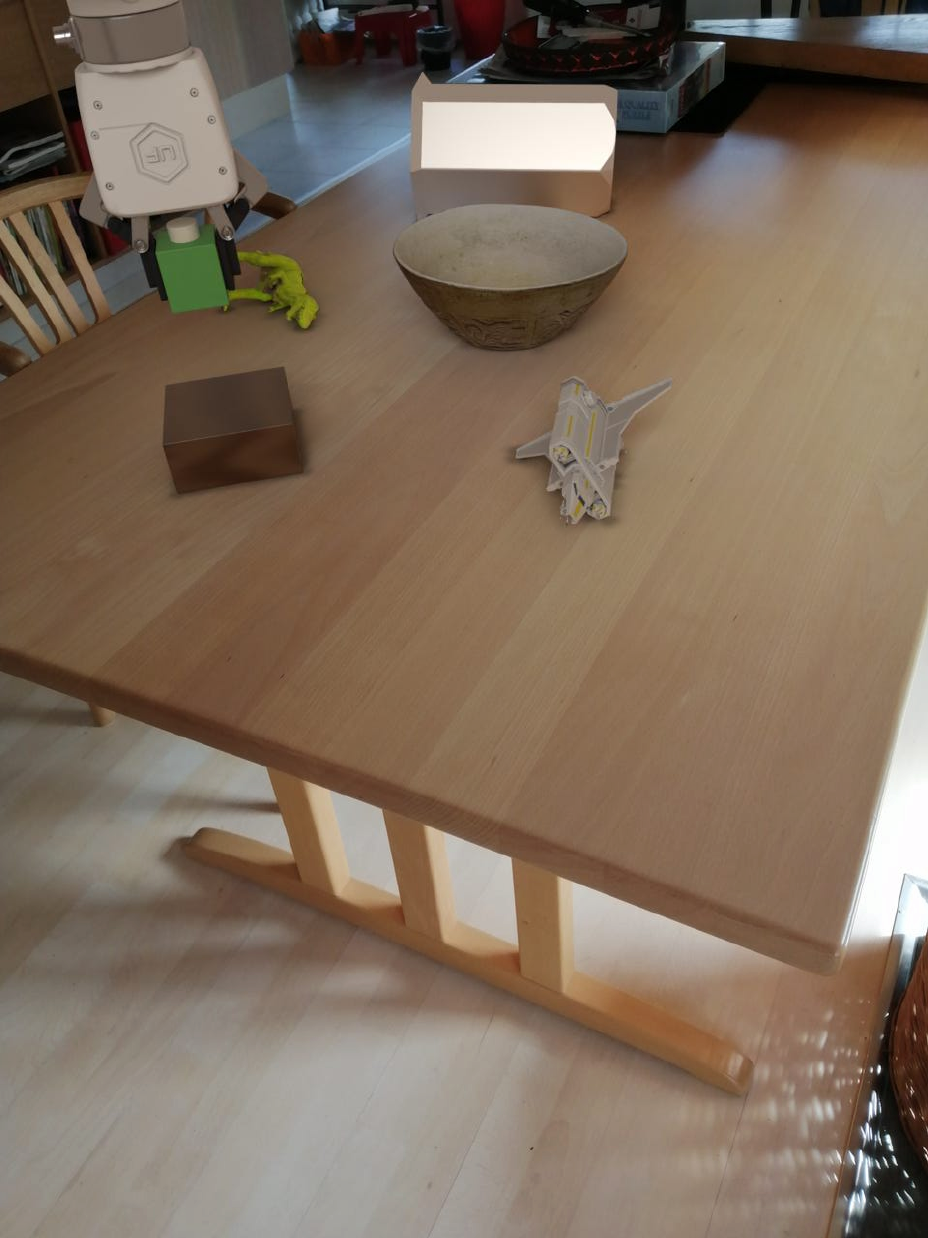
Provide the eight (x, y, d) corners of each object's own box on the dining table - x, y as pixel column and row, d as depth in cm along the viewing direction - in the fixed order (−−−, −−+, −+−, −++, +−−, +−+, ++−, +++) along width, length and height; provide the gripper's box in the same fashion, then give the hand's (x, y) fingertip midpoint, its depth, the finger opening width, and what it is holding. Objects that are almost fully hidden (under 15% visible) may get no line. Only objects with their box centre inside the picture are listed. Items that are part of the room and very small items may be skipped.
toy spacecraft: (541, 479, 91) (694, 411, 84) (518, 587, 80) (691, 520, 73) (494, 410, 87) (650, 333, 80) (462, 514, 76) (640, 436, 69)
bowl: (639, 288, 113) (643, 196, 106) (606, 389, 96) (608, 288, 89) (439, 280, 119) (431, 193, 112) (374, 375, 102) (361, 278, 95)
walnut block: (177, 494, 87) (162, 444, 84) (179, 432, 96) (165, 384, 92) (302, 472, 88) (292, 423, 85) (293, 413, 97) (284, 365, 93)
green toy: (172, 313, 80) (150, 236, 76) (173, 291, 84) (152, 216, 80) (229, 305, 81) (211, 227, 77) (228, 283, 84) (210, 208, 80)
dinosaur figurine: (190, 290, 122) (177, 239, 118) (265, 267, 126) (255, 216, 122) (264, 344, 109) (252, 289, 105) (345, 316, 113) (337, 262, 109)
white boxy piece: (422, 249, 137) (404, 143, 119) (433, 154, 142) (418, 39, 125) (606, 252, 135) (616, 145, 117) (610, 156, 140) (620, 39, 122)
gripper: (1, 64, 66) (89, 324, 78) (257, 31, 68) (305, 291, 80) (16, 40, 72) (96, 287, 84) (252, 11, 73) (298, 257, 85)
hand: (198, 286), depth 82 cm, fingers closed on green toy, 4 cm apart
